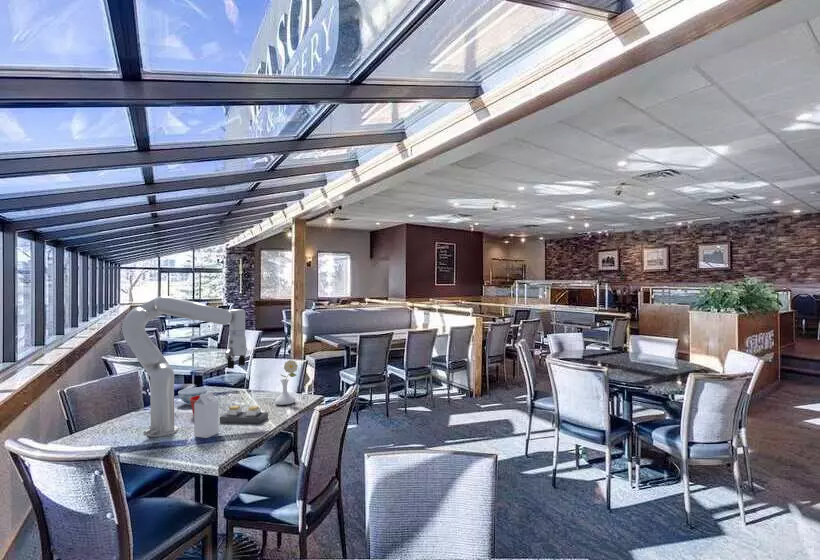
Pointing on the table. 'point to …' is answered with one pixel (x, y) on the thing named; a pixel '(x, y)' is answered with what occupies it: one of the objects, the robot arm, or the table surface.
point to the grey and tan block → (253, 411)
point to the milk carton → (206, 416)
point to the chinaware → (191, 393)
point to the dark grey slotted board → (244, 418)
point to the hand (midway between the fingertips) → (236, 366)
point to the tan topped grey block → (234, 411)
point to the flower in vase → (285, 396)
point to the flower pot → (194, 402)
